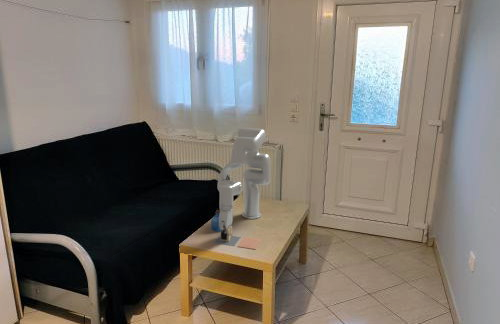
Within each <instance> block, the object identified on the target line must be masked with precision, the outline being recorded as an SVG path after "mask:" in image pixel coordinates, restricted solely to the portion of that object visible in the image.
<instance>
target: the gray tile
mask: <svg viewBox="0 0 500 324" xmlns="http://www.w3.org/2000/svg"><path fill="white" fill-rule="evenodd" d="M240 239H241V236H236V235H232V238H231V240H230V241H223V240H221V234H219V236H218V237H217V238H216V239H215V240H214V241H213V244H217V245H225V246H230V247H235V245H236V244H237V243H238V242H239V241H240Z"/></svg>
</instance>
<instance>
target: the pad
mask: <svg viewBox="0 0 500 324" xmlns="http://www.w3.org/2000/svg"><path fill="white" fill-rule="evenodd" d="M261 241H262V239H261V238H255V237H248V236H247V237H246V236H243V238H242V240H241V241H240V242H239V243H238V245H237V248H241V249H242V248H243V249H248V250H253V251H254V250H256V249H257V248H258V247H259V245H260V243H261Z"/></svg>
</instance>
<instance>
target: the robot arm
mask: <svg viewBox="0 0 500 324" xmlns="http://www.w3.org/2000/svg"><path fill="white" fill-rule="evenodd" d="M236 132H237V137H236V138H235V139H234V142H233V145H232V150H231V154H230V155H231V156H230V160H229V162H228V163H227V164H225V165H224V166H223V168H222V169H221V170H220V172H219V175H218V178H217V179H218V180H217V184H216V185H217V187H216V188H217V190H218V192H219V210H220V214H219V228H220V230H221V231H220V235H221V239H223V240H227V233H226V230H227V228H228V227H229V226H232V227H233V225H232V224H233V220H234V217H233V212H234V211H233V210H234V196H238V195H240V194H242V192H243V190H244V204H243V205H244V210H243V212H242V213H241V216H242V217H243V218H245V219H252V220H253V219H258V218H261V217H262V212H260V188H259V186H258V185H261V186H267V185H269V184H270V182H271V178H272V177H271V174H272V173H271V171H272V170H271V169H272V167H271V157H270V155H269V154H267V153H262V152H261V153H260V151H259V150H260V148H261V147H262V145H263V144H264V142H265V140H266V138H267V137H266V136H267V135H266V131H265V129H263V128H253V127H240V128H238V130H237V131H236ZM245 165H246V166H247V167H248V168H247V169H245V170H244V172H243V176H242V178H243V182H244V185H243V183H242V182H241V181H239V180H238V181H237V180H231V179H227V176H228V174H229V173H230V172H232V171H233V170H236V169H239V168H241V167H244V166H245ZM243 188H244V189H243ZM224 226H226V227H224ZM223 228H224V229H225V230H223Z"/></svg>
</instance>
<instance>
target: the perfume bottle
mask: <svg viewBox="0 0 500 324" xmlns="http://www.w3.org/2000/svg"><path fill="white" fill-rule="evenodd" d="M219 214H220V209H216V210H215V215H213V217H212V218H211V219H210V221H211V222H210V223H211V224H210V225H211V227H210V228H211V230H212V231H215V232H216V233H221V230H220V228H219Z"/></svg>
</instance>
